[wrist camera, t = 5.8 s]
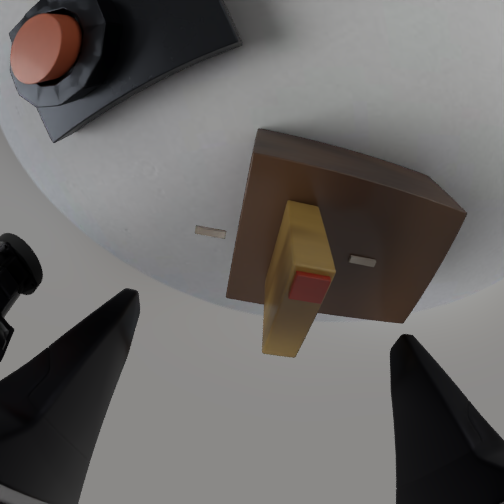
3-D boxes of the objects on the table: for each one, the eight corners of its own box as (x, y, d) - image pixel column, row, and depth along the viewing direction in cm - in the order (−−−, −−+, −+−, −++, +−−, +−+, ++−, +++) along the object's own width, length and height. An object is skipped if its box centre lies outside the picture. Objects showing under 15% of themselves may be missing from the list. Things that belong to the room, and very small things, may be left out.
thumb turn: (291, 285, 15) (295, 363, 11) (264, 281, 15) (261, 358, 11) (319, 206, 13) (338, 276, 9) (287, 199, 13) (293, 269, 9)
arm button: (43, 92, 11) (22, 98, 10) (24, 42, 9) (3, 45, 8) (92, 53, 10) (71, 55, 9) (70, 1, 8) (50, -2, 7)
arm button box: (72, 134, 16) (34, 154, 13) (29, 31, 11) (-12, 35, 8) (243, 45, 13) (234, 38, 10) (186, -72, 8) (164, -99, 5)
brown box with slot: (207, 241, 20) (190, 293, 16) (223, 122, 16) (204, 145, 11) (383, 274, 21) (403, 325, 17) (428, 175, 16) (469, 214, 12)
